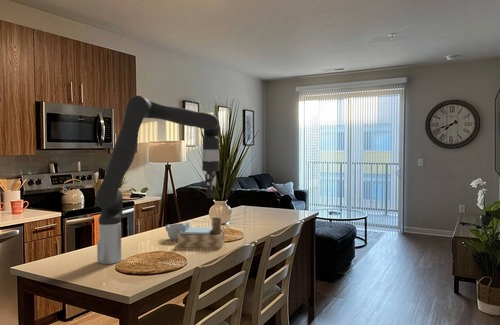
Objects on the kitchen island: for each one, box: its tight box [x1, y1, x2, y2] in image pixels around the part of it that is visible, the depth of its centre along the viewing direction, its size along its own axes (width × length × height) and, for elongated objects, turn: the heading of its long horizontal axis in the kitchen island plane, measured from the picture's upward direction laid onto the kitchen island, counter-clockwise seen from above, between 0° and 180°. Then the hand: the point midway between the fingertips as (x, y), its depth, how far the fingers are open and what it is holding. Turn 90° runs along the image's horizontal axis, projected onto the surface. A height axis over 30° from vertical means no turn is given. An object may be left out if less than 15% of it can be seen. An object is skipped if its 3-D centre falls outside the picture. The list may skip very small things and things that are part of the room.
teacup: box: [165, 222, 184, 242], centre depth 207 cm, size 14×11×8 cm
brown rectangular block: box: [211, 216, 222, 235], centre depth 193 cm, size 4×4×14 cm
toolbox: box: [177, 229, 226, 249], centre depth 193 cm, size 22×13×7 cm, turn 87°
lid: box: [180, 221, 212, 234], centre depth 193 cm, size 15×13×4 cm
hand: (210, 196), depth 165 cm, fingers open, 8 cm apart
